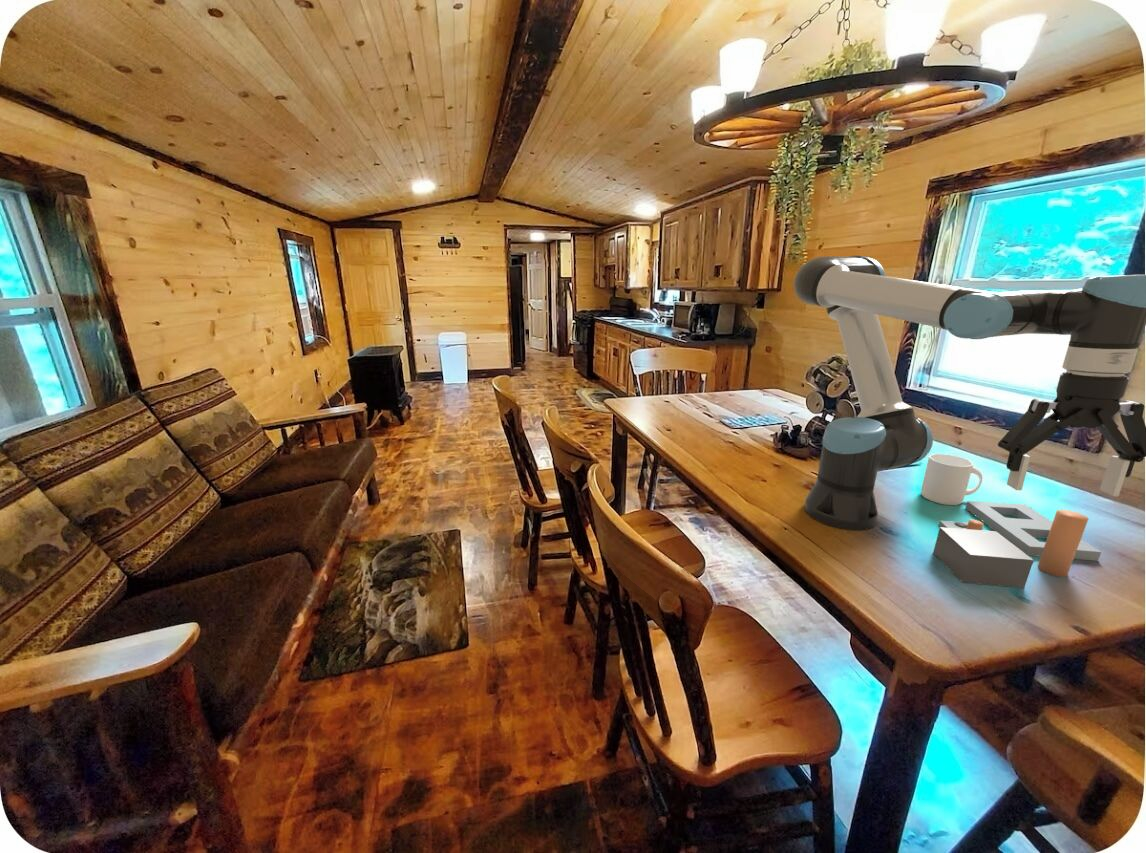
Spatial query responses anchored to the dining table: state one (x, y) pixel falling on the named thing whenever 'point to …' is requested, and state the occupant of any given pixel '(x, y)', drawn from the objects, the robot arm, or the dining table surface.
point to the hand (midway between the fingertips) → (1060, 490)
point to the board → (962, 524)
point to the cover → (982, 557)
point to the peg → (1062, 542)
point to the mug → (948, 479)
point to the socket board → (1023, 527)
